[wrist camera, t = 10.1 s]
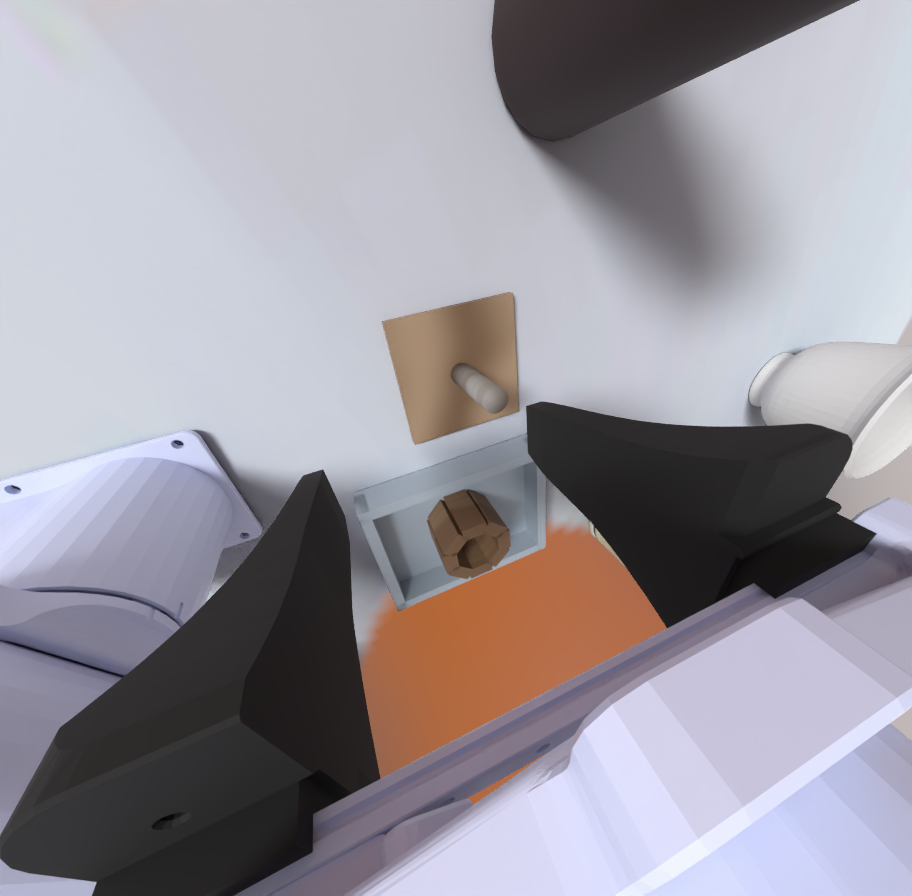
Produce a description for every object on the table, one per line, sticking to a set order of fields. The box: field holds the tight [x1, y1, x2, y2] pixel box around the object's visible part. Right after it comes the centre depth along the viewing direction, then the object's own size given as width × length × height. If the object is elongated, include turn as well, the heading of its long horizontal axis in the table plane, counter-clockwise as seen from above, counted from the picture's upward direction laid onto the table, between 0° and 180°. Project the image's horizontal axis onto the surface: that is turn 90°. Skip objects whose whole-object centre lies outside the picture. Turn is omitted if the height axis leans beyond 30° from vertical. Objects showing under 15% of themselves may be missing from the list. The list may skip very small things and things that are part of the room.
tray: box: [353, 434, 546, 611], centre depth 26 cm, size 14×11×2 cm
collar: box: [427, 489, 511, 579], centre depth 25 cm, size 5×5×4 cm
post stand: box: [382, 292, 519, 445], centre depth 19 cm, size 8×8×6 cm
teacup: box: [749, 342, 912, 479], centre depth 31 cm, size 12×15×10 cm
